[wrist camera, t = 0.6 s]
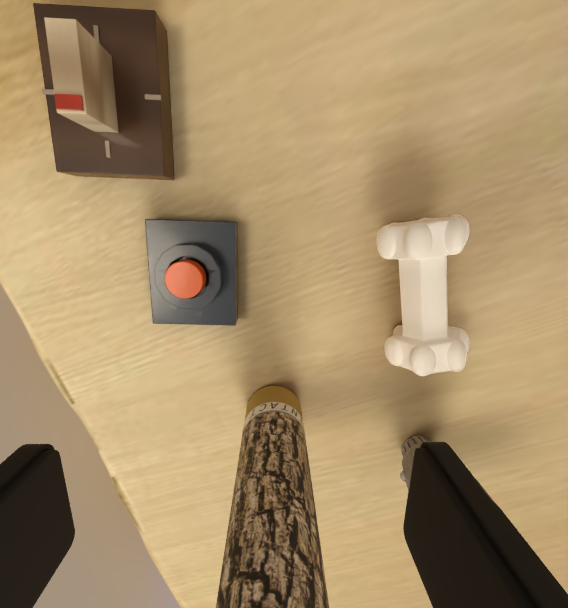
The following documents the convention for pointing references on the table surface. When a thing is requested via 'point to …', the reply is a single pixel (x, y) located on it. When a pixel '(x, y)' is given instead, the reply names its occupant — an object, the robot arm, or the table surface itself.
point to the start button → (185, 278)
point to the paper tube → (273, 513)
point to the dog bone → (425, 293)
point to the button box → (209, 254)
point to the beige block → (81, 76)
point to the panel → (117, 96)
